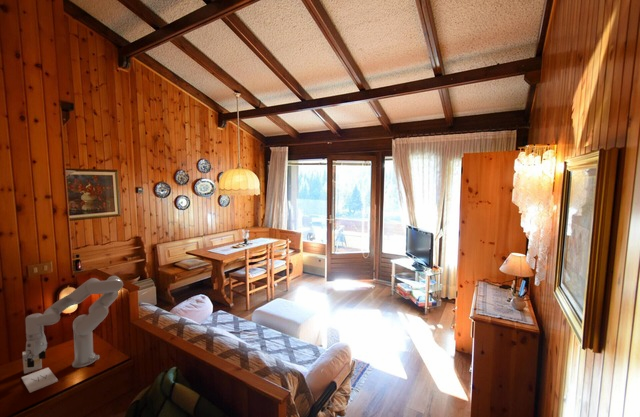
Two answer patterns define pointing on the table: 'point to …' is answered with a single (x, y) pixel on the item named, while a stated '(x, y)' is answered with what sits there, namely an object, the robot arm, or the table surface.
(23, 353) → the supplement box
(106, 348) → the table surface
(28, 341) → the robot arm
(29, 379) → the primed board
